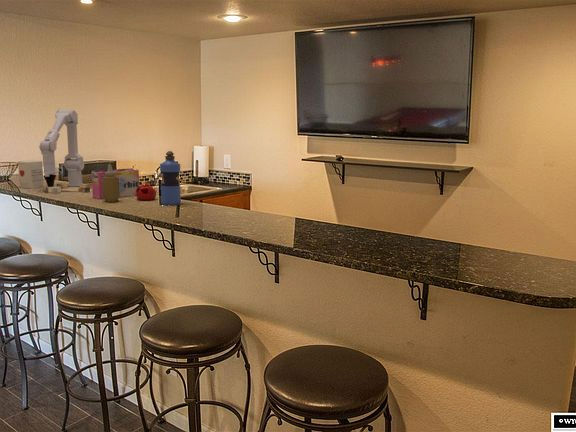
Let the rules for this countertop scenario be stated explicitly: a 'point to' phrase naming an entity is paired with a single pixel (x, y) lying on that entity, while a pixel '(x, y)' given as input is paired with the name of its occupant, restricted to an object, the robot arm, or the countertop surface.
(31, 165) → the supplement box
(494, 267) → the countertop surface
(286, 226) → the countertop surface
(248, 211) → the countertop surface
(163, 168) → the water bottle
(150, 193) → the pomegranate
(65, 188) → the stool seat
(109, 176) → the squeeze bottle
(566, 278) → the countertop surface
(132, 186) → the gum box
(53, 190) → the stop bracket
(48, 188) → the folding leg
